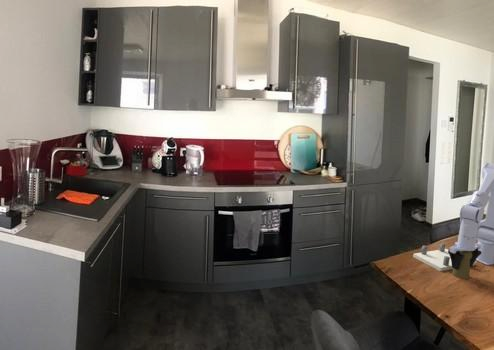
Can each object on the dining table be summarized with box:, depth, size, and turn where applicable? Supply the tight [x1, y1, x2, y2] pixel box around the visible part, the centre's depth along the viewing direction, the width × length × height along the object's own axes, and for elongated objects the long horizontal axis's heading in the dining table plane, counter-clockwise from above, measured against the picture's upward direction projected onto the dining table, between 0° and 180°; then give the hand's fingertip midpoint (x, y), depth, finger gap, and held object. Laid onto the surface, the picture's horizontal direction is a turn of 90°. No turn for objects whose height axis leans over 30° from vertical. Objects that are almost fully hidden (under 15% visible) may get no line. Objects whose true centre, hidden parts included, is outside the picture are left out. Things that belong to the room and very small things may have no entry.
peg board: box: [412, 242, 476, 272], centre depth 144 cm, size 20×14×5 cm
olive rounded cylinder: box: [451, 251, 472, 280], centre depth 131 cm, size 6×6×11 cm
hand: (461, 267), depth 132 cm, fingers open, 7 cm apart
